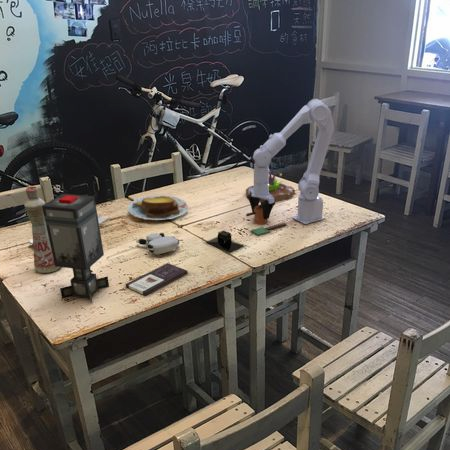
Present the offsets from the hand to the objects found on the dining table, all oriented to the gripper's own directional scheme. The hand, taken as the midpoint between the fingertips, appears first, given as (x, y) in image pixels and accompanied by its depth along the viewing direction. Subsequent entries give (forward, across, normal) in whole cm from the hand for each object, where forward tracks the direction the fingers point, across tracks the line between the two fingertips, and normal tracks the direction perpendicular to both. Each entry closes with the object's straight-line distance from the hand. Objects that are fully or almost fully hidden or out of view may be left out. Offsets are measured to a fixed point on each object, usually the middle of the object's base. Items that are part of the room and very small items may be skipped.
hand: (260, 215), depth 199 cm
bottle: (+3, -6, -81) cm, 81 cm away
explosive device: (+3, +16, -76) cm, 78 cm away
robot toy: (+3, 0, -44) cm, 44 cm away
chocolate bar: (+3, +21, -54) cm, 59 cm away
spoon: (+3, -30, -67) cm, 74 cm away
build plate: (+3, +10, -23) cm, 25 cm away
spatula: (+2, +8, -2) cm, 9 cm away
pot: (+2, 0, -2) cm, 3 cm away
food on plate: (+3, -32, -29) cm, 44 cm away
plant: (+3, -24, +21) cm, 32 cm away
